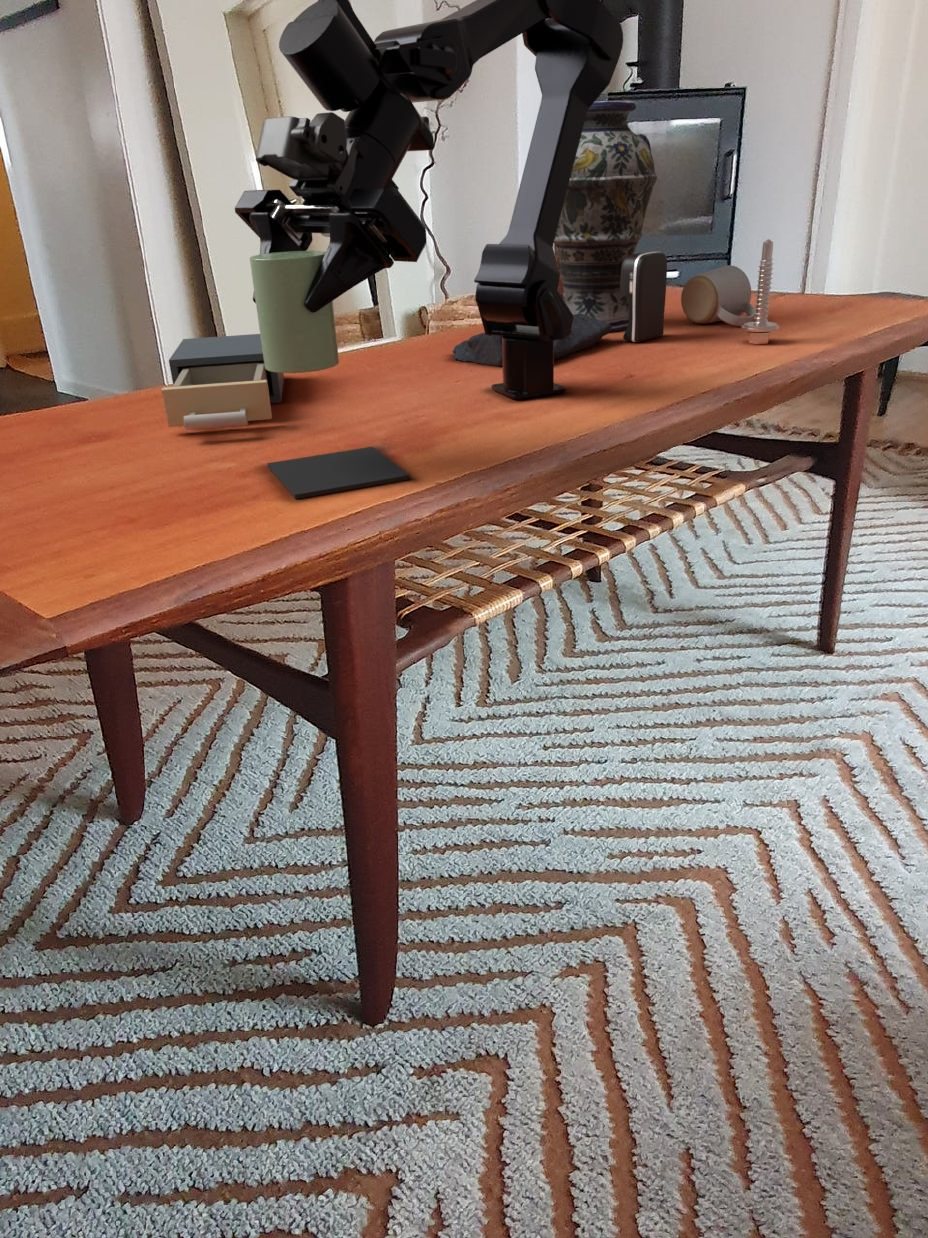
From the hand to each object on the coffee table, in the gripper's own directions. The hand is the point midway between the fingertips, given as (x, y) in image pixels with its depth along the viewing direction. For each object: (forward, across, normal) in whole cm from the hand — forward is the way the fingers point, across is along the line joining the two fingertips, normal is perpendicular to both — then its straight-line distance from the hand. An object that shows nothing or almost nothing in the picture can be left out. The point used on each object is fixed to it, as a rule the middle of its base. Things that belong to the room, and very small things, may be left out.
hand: (282, 306), depth 78 cm
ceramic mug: (-50, -2, +70) cm, 85 cm away
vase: (-42, -18, +61) cm, 76 cm away
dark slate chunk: (-28, -14, +48) cm, 57 cm away
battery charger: (-38, -6, +58) cm, 69 cm away
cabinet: (-1, -30, +20) cm, 36 cm away
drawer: (+5, -20, +13) cm, 24 cm away
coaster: (+10, +4, +10) cm, 14 cm away
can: (+3, 0, +4) cm, 5 cm away
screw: (-41, +10, +61) cm, 74 cm away
